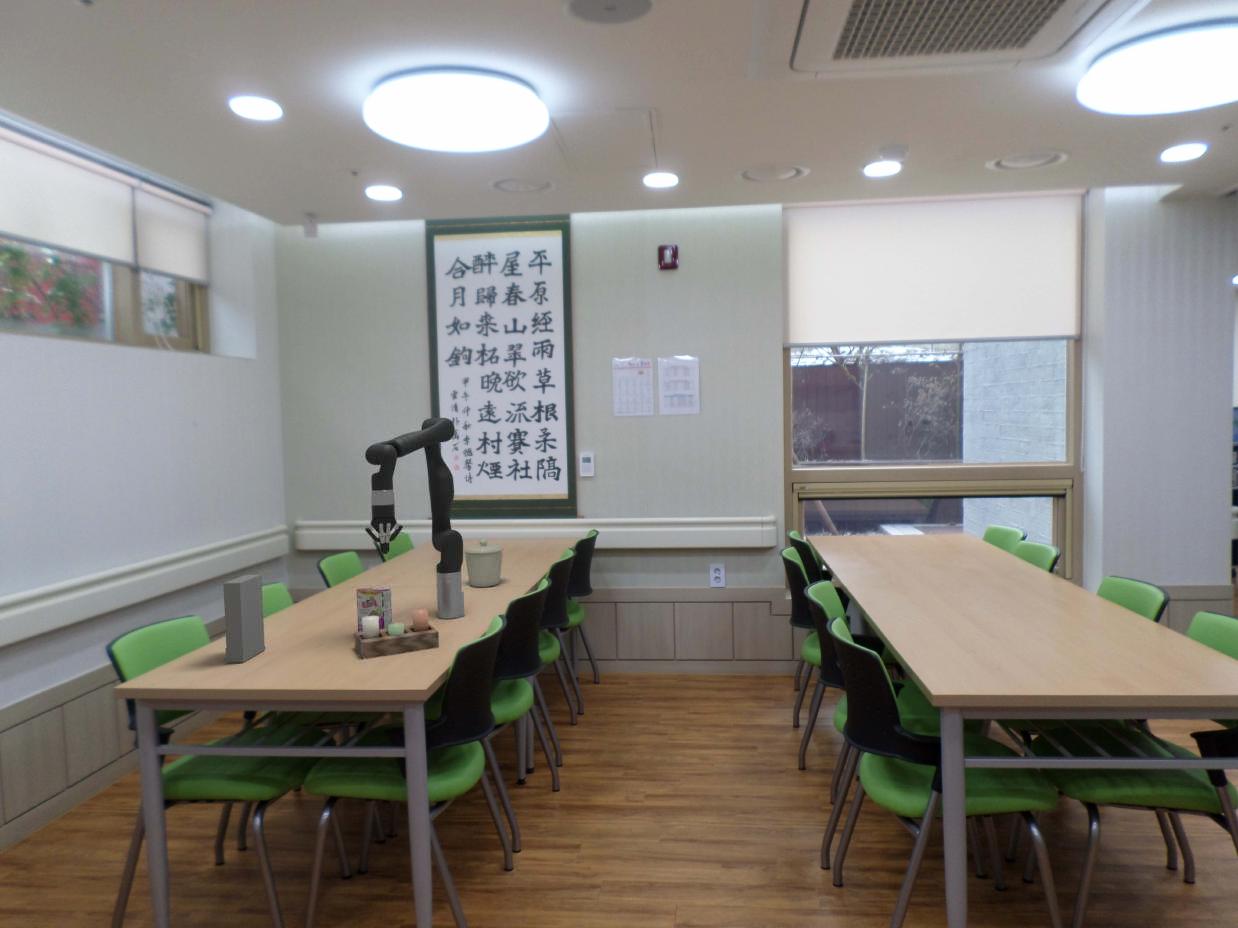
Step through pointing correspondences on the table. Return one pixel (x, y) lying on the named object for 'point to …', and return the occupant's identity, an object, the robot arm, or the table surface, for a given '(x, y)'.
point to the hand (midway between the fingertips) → (384, 553)
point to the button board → (396, 642)
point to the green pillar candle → (395, 629)
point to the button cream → (370, 627)
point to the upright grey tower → (243, 618)
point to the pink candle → (420, 620)
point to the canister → (484, 564)
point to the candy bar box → (374, 605)
